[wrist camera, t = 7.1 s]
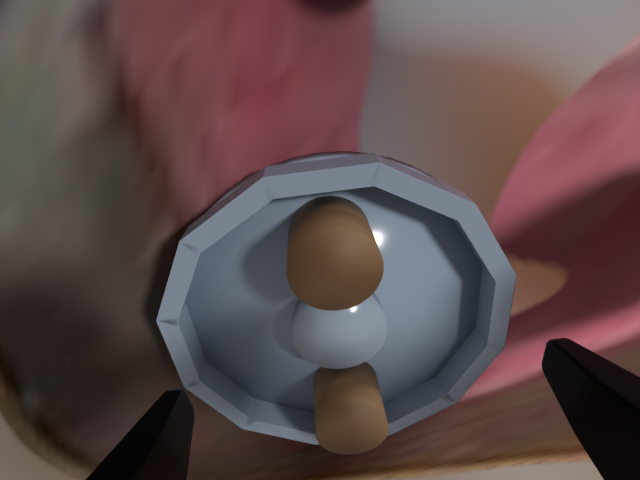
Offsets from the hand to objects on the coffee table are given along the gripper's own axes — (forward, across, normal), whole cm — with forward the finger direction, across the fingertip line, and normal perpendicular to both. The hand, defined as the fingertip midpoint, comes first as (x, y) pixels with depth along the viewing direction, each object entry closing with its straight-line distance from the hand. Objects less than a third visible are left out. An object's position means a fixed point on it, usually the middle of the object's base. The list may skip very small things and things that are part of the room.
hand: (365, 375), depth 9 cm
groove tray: (+11, 0, +6) cm, 13 cm away
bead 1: (+10, 0, +1) cm, 10 cm away
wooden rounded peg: (+10, 0, +12) cm, 15 cm away
